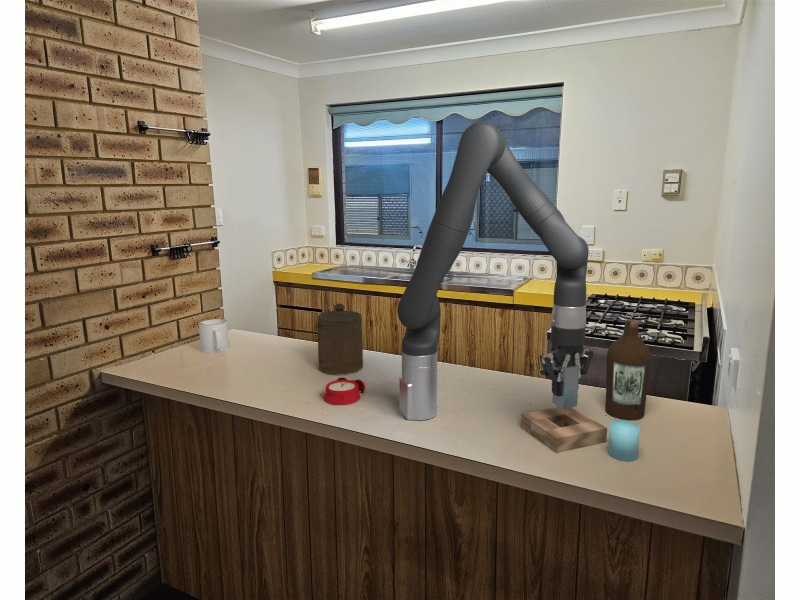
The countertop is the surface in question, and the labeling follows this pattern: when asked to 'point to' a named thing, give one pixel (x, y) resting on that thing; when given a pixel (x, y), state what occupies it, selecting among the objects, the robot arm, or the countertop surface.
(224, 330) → the mug
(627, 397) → the brown bottle
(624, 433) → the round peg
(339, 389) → the alarm clock
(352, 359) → the wooden container
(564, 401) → the square peg
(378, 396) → the countertop surface
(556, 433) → the socket block
